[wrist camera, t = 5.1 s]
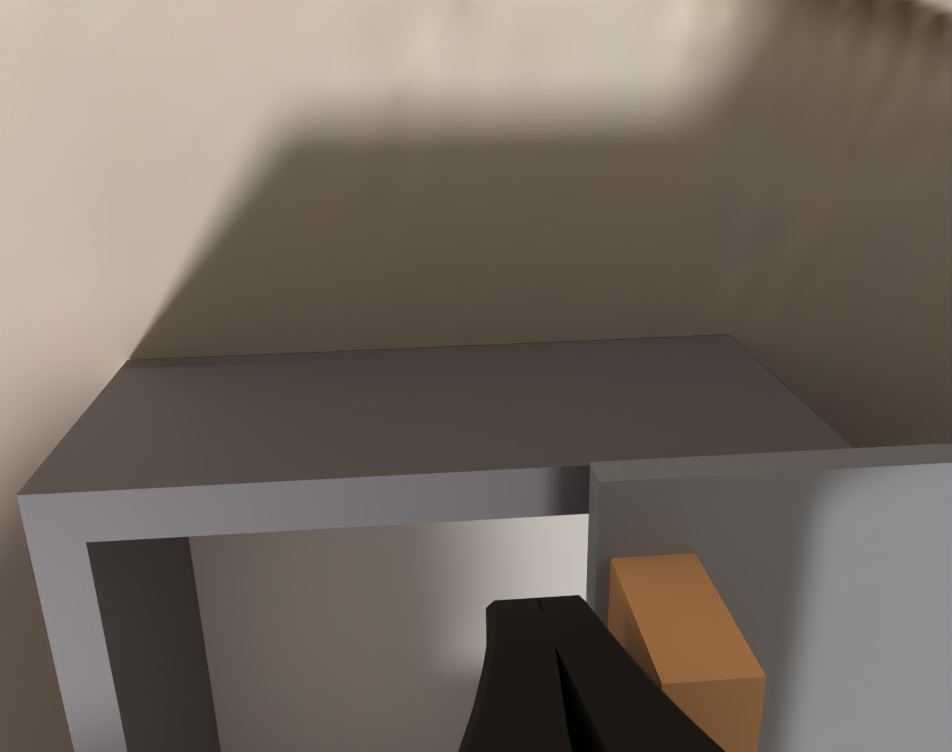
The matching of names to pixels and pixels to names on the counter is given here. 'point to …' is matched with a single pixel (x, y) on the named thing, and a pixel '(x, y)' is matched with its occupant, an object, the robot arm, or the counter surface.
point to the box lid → (785, 592)
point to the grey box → (348, 526)
